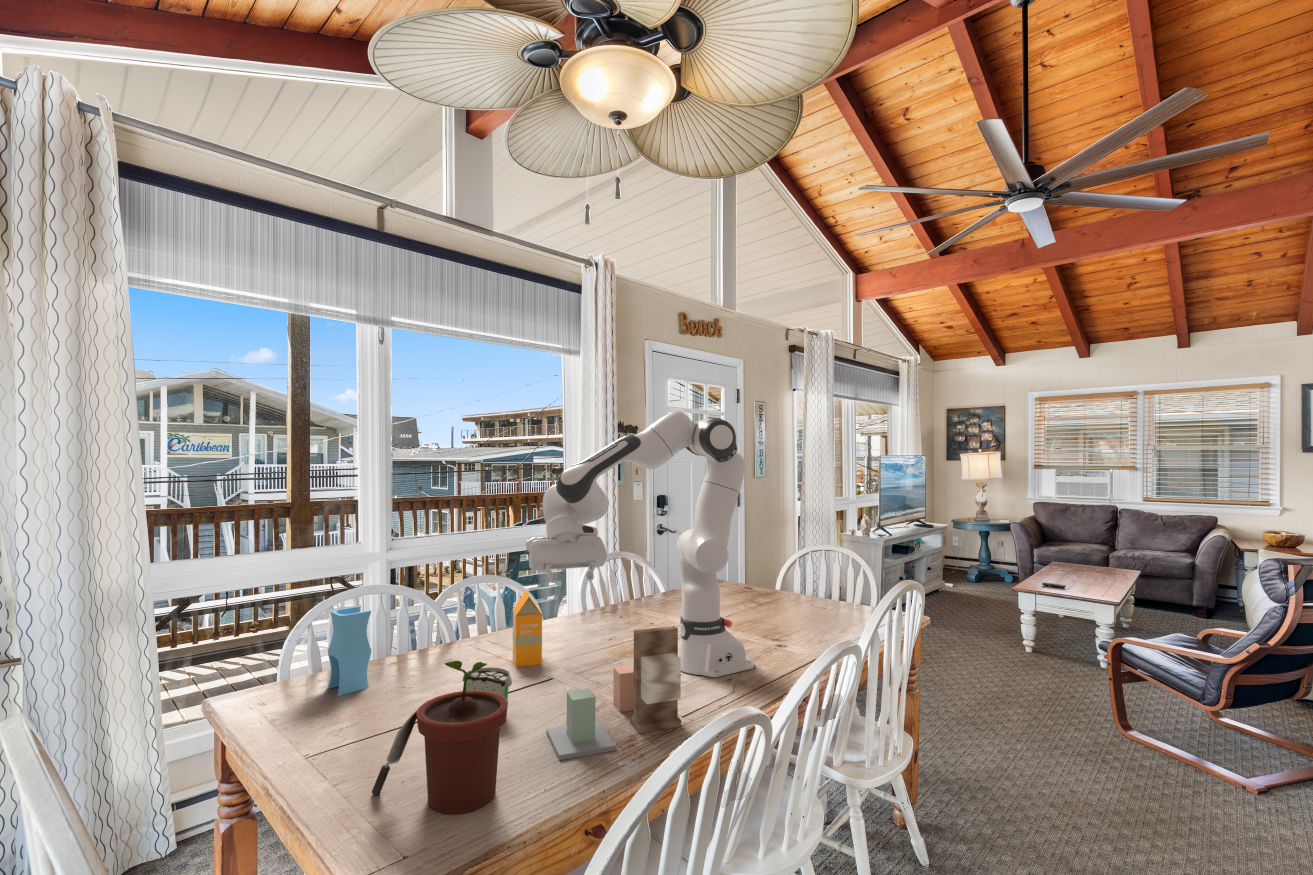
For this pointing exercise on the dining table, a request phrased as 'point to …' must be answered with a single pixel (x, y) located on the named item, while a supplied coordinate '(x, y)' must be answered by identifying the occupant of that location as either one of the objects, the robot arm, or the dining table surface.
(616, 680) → the terracotta block
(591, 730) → the green block
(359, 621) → the vase
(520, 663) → the orange juice
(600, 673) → the dining table surface
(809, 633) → the dining table surface
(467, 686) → the food container
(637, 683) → the wall stand
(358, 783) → the dining table surface
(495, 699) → the potted plant
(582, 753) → the grey board
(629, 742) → the dining table surface
